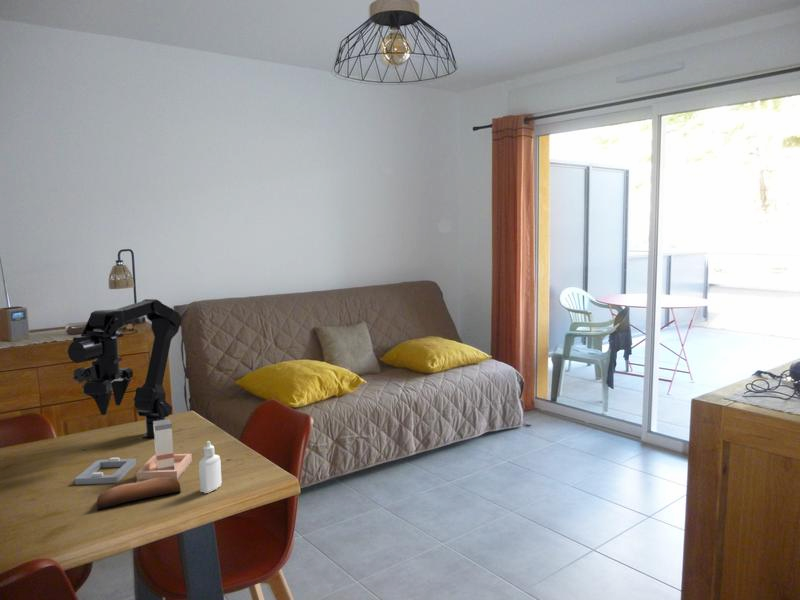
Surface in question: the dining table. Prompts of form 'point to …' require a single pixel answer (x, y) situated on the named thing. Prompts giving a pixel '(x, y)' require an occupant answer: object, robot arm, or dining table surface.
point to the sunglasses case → (137, 491)
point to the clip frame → (97, 477)
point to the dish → (151, 471)
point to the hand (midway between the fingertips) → (111, 409)
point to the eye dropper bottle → (209, 470)
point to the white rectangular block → (163, 444)
